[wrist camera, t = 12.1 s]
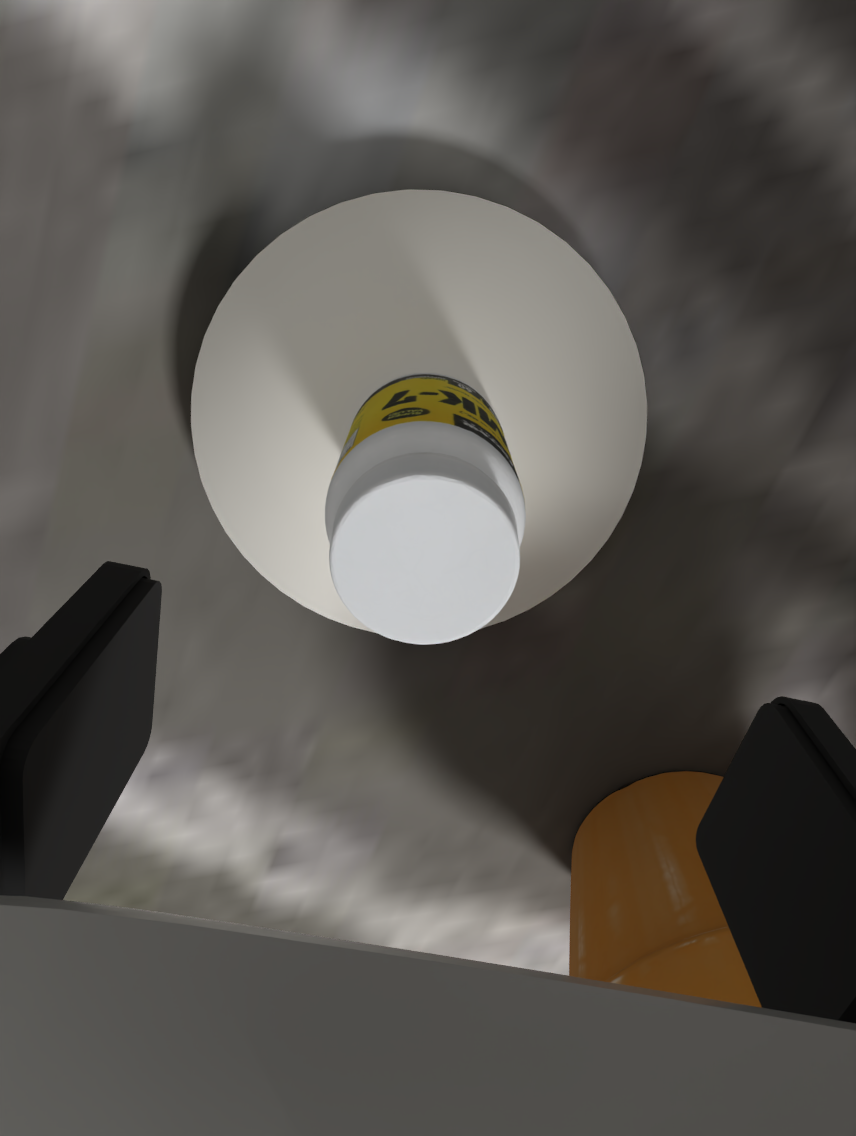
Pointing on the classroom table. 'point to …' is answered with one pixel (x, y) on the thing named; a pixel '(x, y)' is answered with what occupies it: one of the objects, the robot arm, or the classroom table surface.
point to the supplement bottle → (425, 512)
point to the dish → (407, 346)
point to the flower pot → (652, 895)
